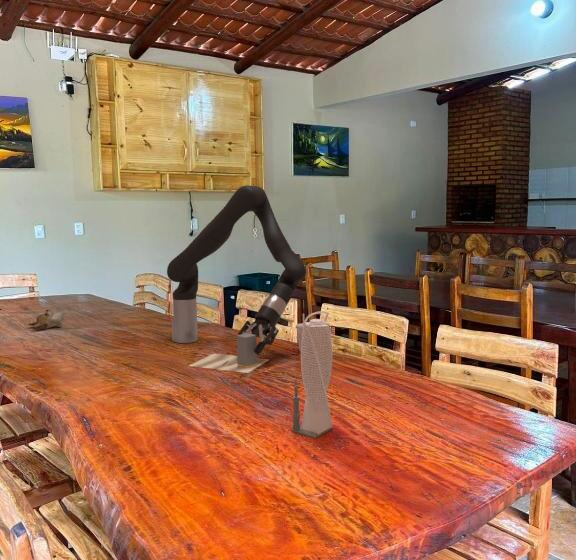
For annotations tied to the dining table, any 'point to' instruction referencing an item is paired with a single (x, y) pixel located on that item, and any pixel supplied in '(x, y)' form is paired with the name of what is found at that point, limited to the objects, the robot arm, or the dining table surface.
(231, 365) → the board
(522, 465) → the dining table surface
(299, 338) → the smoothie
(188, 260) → the robot arm
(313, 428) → the skyscraper
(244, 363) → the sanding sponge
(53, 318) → the ceramic sculpture
